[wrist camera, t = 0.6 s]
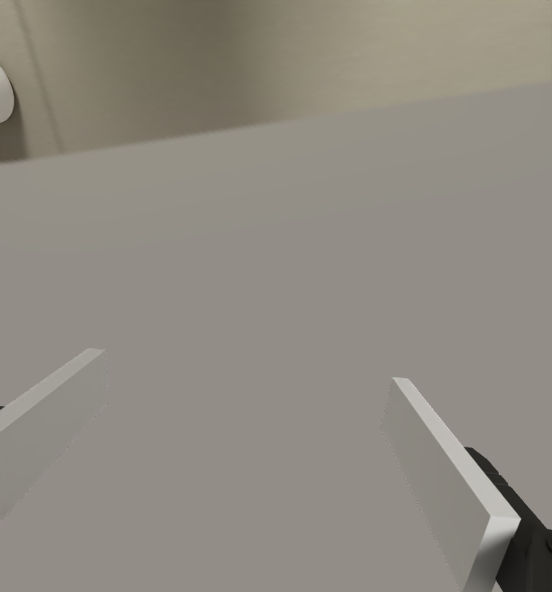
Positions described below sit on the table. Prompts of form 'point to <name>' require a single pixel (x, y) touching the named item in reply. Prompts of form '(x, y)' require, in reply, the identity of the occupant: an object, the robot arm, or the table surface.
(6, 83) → the water bottle
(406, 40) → the table surface
